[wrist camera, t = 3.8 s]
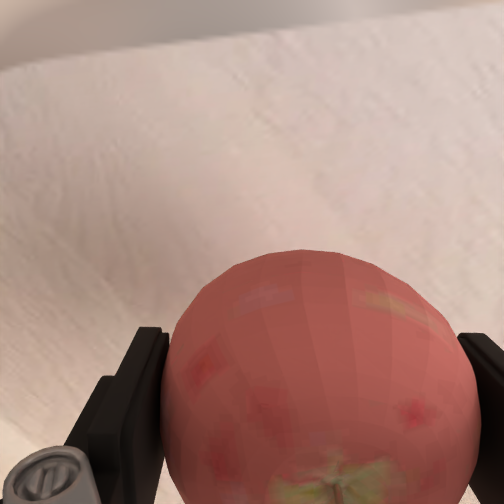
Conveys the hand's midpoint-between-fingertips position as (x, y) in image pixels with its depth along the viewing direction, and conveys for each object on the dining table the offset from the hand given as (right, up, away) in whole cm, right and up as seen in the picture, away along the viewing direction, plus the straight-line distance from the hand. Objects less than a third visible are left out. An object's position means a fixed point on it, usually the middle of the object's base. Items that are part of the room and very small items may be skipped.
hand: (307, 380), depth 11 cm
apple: (0, +1, +3) cm, 4 cm away
